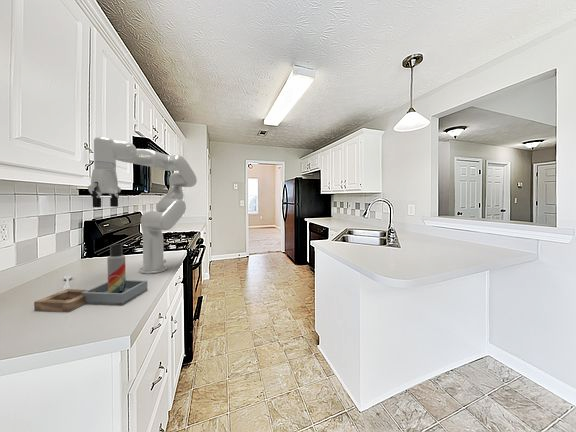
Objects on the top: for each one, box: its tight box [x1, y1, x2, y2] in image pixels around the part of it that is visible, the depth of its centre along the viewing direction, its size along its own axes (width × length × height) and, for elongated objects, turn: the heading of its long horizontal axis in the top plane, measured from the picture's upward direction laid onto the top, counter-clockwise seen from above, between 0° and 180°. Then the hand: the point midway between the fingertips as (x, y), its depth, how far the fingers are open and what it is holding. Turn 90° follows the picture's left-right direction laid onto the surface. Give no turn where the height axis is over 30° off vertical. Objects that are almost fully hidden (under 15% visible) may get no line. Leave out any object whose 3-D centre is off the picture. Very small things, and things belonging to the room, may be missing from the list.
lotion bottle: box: [106, 243, 127, 293], centre depth 95 cm, size 6×6×20 cm
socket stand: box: [33, 288, 98, 313], centre depth 88 cm, size 12×12×3 cm
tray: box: [81, 279, 148, 306], centre depth 96 cm, size 15×15×4 cm
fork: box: [61, 274, 73, 291], centre depth 110 cm, size 3×21×3 cm, turn 40°
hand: (106, 206), depth 107 cm, fingers open, 9 cm apart
